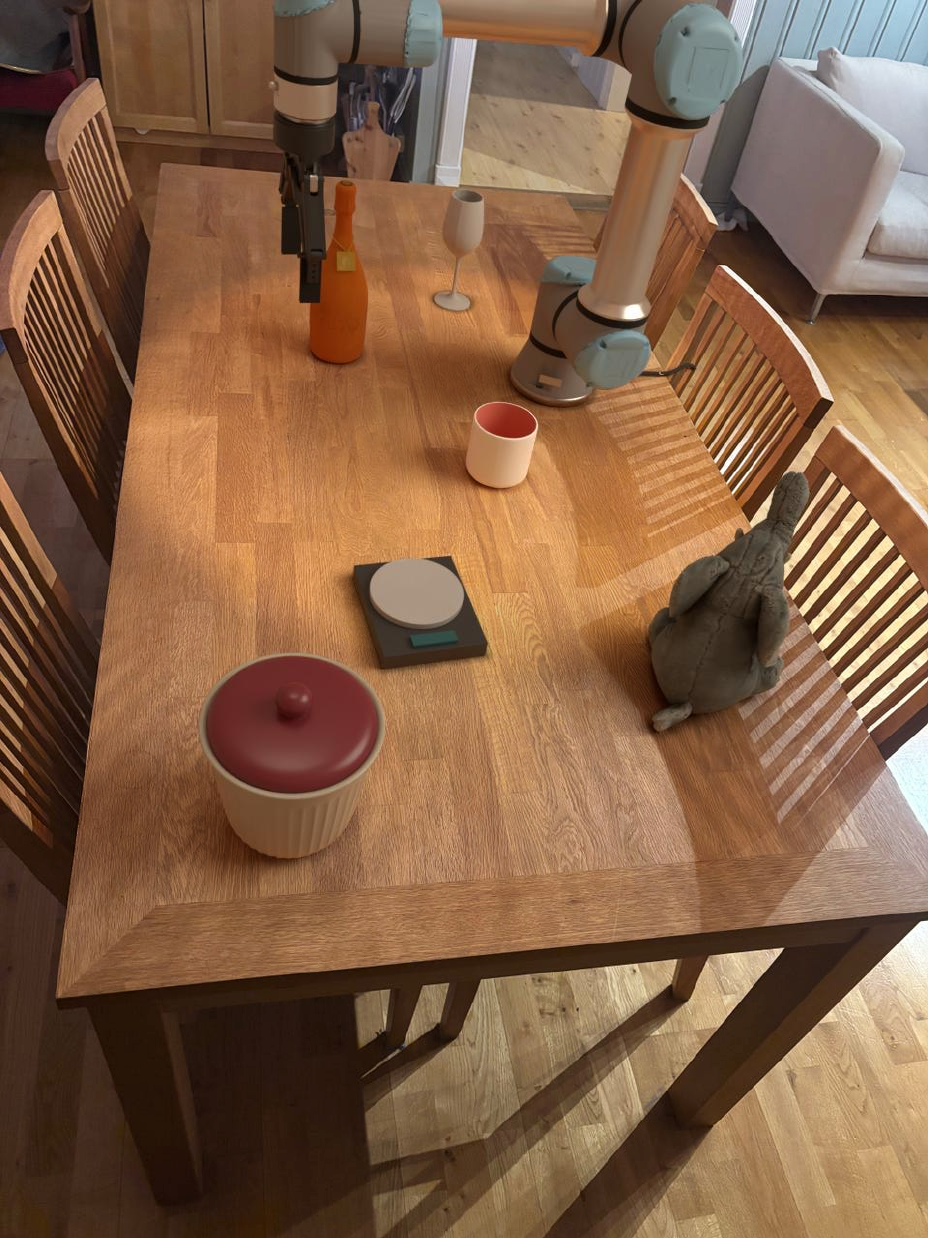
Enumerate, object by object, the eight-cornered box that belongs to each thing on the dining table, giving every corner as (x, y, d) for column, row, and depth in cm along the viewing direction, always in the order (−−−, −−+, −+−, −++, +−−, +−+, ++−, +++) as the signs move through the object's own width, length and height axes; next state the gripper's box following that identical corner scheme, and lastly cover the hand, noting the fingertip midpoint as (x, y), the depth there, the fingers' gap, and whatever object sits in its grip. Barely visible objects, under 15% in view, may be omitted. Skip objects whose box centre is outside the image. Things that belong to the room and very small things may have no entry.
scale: (448, 567, 138) (452, 549, 136) (485, 655, 127) (489, 638, 125) (352, 577, 134) (354, 559, 132) (382, 669, 123) (384, 651, 121)
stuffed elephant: (733, 614, 140) (807, 463, 121) (790, 730, 126) (884, 580, 107) (608, 617, 136) (665, 461, 117) (653, 737, 122) (726, 582, 103)
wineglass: (475, 298, 195) (493, 194, 180) (463, 315, 190) (480, 208, 175) (440, 288, 196) (455, 183, 181) (427, 303, 191) (441, 197, 176)
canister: (405, 813, 109) (428, 694, 94) (285, 921, 98) (289, 805, 83) (294, 720, 116) (299, 595, 101) (170, 811, 105) (154, 686, 90)
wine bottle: (298, 354, 171) (303, 183, 150) (324, 331, 178) (332, 163, 157) (348, 372, 169) (360, 201, 148) (372, 348, 176) (387, 181, 155)
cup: (520, 498, 152) (533, 445, 145) (458, 482, 152) (468, 430, 145) (530, 461, 159) (542, 410, 152) (471, 447, 159) (480, 395, 152)
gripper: (257, 74, 125) (258, 234, 140) (292, 153, 109) (288, 324, 124) (315, 77, 127) (309, 234, 142) (357, 155, 111) (346, 323, 127)
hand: (300, 276), depth 133 cm, fingers open, 13 cm apart
